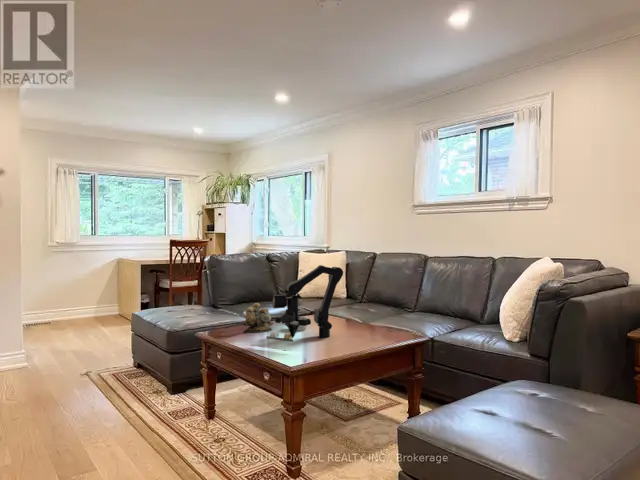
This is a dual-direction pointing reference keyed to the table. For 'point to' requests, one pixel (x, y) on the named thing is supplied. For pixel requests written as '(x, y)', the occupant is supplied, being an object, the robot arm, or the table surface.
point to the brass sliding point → (288, 336)
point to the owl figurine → (257, 319)
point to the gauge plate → (280, 338)
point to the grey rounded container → (301, 328)
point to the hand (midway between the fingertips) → (292, 337)
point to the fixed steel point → (274, 334)
